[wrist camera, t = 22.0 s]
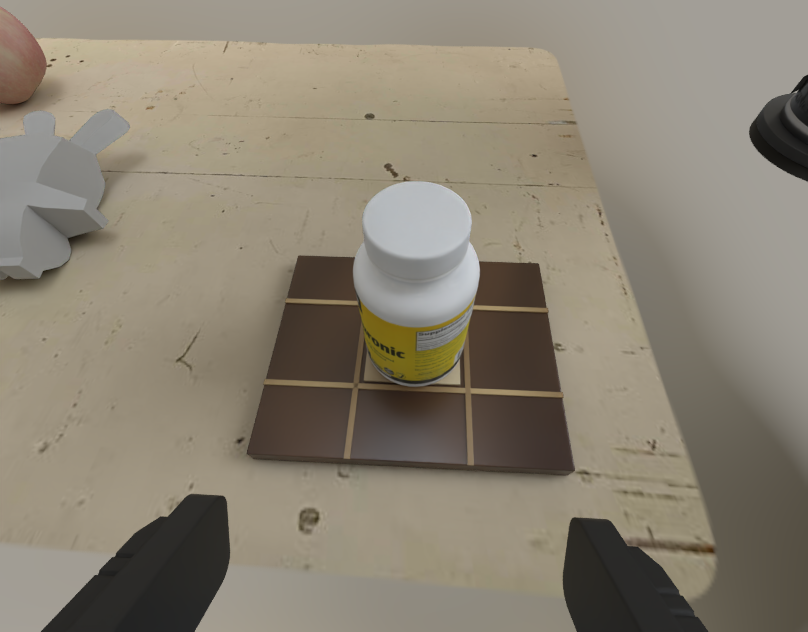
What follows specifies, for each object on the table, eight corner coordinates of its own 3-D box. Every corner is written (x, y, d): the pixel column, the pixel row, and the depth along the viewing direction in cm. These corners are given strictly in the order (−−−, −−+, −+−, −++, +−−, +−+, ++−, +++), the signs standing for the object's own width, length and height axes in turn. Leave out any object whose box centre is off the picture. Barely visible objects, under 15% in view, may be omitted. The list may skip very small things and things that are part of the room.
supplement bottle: (351, 327, 23) (320, 192, 15) (433, 293, 24) (445, 152, 16) (391, 407, 21) (381, 296, 12) (480, 364, 22) (524, 238, 14)
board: (535, 272, 27) (540, 261, 26) (568, 475, 20) (576, 469, 19) (301, 264, 27) (297, 253, 26) (252, 458, 20) (244, 452, 19)
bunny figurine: (-122, 252, 23) (-10, 86, 30) (-34, 296, 28) (46, 144, 34) (43, 248, 23) (118, 84, 30) (103, 292, 28) (156, 141, 34)
